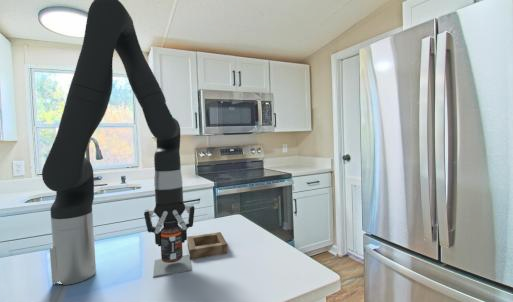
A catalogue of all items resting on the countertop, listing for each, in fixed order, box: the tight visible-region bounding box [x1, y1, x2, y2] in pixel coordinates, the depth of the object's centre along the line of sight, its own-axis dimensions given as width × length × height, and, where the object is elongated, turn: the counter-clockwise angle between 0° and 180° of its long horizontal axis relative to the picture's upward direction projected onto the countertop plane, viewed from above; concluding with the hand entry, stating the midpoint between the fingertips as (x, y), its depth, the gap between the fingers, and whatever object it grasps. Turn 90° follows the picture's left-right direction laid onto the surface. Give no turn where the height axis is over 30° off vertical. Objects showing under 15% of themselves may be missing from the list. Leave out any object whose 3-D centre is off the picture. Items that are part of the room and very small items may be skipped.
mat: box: [152, 254, 193, 279], centre depth 78 cm, size 10×10×1 cm
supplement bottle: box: [160, 220, 184, 263], centre depth 78 cm, size 6×6×11 cm
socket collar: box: [186, 231, 229, 261], centre depth 89 cm, size 12×12×3 cm
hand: (171, 243), depth 78 cm, fingers closed on supplement bottle, 6 cm apart
